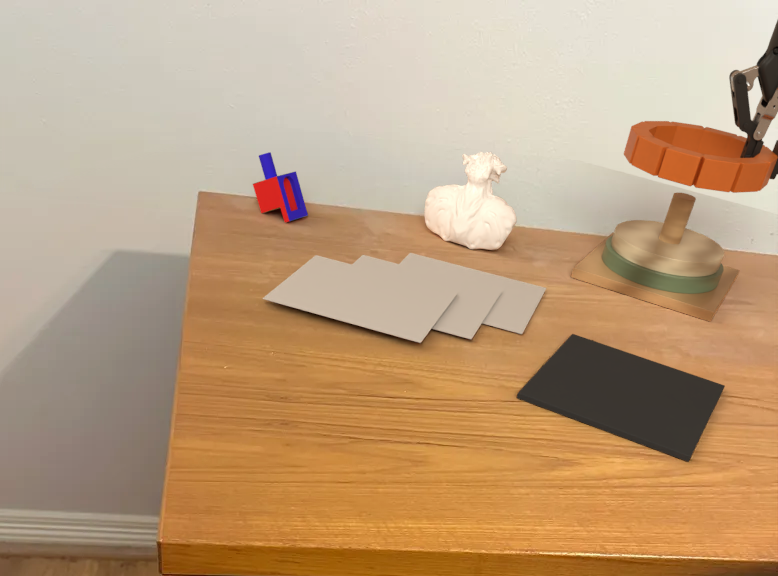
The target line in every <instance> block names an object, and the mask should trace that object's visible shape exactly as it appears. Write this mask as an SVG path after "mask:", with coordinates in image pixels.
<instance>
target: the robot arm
mask: <svg viewBox="0 0 778 576" xmlns="http://www.w3.org/2000/svg"><path fill="white" fill-rule="evenodd" d="M728 79H729V85H730V86H729V87H730V94H731V95H730V96H731V103H732V112H733V118H734V124H735V126H736V127H737V128H738V129H739V130H740V132H744V133H745V134H746V135H747V136H746V138H747V140H746V142H745V145H744V148H743V150H742V153H741V156H740V158H754V157H755V156H756V155H758V154H759V153H760V151H761V149H762V146H763V145H764V144H765V141H763V139H764V138H765V135H767V134H766V133H767V132H768V130H769V128H770V125H771V123H772V121H773V120H775V118H776V116H777V114H778V19H776V22H775V25H774V28H773V30H772V34H771V36H770V39H769V42H768V44H767V48H766V50H765V52H764V53H763V54H762V55H761V56H760V58H758V60H757V62H756V64H755V65H753V66H751V67H748V68H745V69H741V70H739V69H733V70H732V71H731V72H730V73H729V78H728ZM756 79H757V81H758V84H759V88H760V91H761V97H760V99H759V102H758V104H757V106H756V109H755V114H754V116H753V118H751V109H750V108H751V107H750V99H749V98H750V97H749V92H750V91H752V89H753V88H754V82H755V80H756ZM771 151H772V152H774V153H775V154H776V155H777V157H778V139H777V140H776V141H775V144H774V146H773V149H772V150H771ZM777 175H778V159H777V161H776V164H775V166H774V169H773V171H772V174H771V176H770V179H769V180H775V179H776V178H777Z"/></svg>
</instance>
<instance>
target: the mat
mask: <svg viewBox="0 0 778 576" xmlns="http://www.w3.org/2000/svg"><path fill="white" fill-rule="evenodd" d="M725 387H726V386H725V384H721V383H719V382H716V381H713V380H710V379H707V378H704V377H701V376H698V375H695V374H693V373H689V372H686V371H684V370H681V369H677V368H674V367H671V366H668V365H666V364H663V363H660V362H656V361H654V360H651V359H648V358H645V357H643V356H639V355H636V354H633V353H631V352H628V351H624V350H622V349H618V348H616V347H613V346H610V345H608V344H605V343H601V342H598V341H595V340H592V339H590V338H586V337H583V336H580V335H578V334H575V333H572V334H570V336H568V337H567V339H566V340H565V341H564V342H563V343H562V344H561V346H560V347H559V348H557V350H556V351H555V352H554V353H553V354H552V355H551V356H550V357H549V358H548V359H547V361H546V362H545V363H544V364H542V366H541V367H540V368H539V369H538V370H537V371H536V372H535V374H533V375H532V377H531V378H530V379H529V380H528V381H527V382H526V384H524V385H523V387H522V388H521V389H520V390H519V391H518V392H517V393H516V399H518V400H521V401H524V402H526V403H529V404H532V405H535V406H537V407H540V408H543V409H545V410H548V411H550V412H553V413H556V414H558V415H561V416H564V417H566V418H569V419H572V420H575V421H578V422H579V423H582V424H586V425H588V426H590V427H593V428H595V429H599V430H600V431H604V432H607V433H609V434H612V435H614V436H617V437H620V438H622V439H625V440H628V441H631V442H634V443H636V444H638V445H641V446H645V447H647V448H650V449H651V450H652V449H653V450H654V451H657V452H660V453H662V454H666V455H668V456H671V457H674V458H676V459H679V460H682V461H685V462H688V463H689V462H690V460H691V458H692V456H693V455H694V452H695V449H696V447H697V445H698V444H699V442H700V440H701V437H702V435H703V433H704V431H705V429H706V427H707V425H708V422H709V421H710V419H711V417H712V414H713V413H714V411H715V408H716V406H717V404H718V402H719V400H720V398H721V396H722V394H723V392H724V390H725Z"/></svg>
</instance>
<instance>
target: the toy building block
mask: <svg viewBox="0 0 778 576" xmlns="http://www.w3.org/2000/svg"><path fill="white" fill-rule="evenodd" d="M258 159H259V163H260V164H261V170H262V172H263V176H264V180H260V181H258V182H254V183H252V187H253V189H254V193H255V196H256V200H257V205H258V207H259V210H260V213H261V214H264V213H267V212H271V211H274V210H277V209H280V212H281V215H282V218H283V221H284V223H288V222H289V223H290V222H291V221H295V220H298V219H302V218H304V217H308V216H309V214H308V210H307V207H306V202H305V199H304V196H303V192H302V189H301V185H300V180H299V178H298V173H297V171H296V170H295V171H292V172H289V173H284V174H280V175H278V174H277V173H278V172H277V170H276V166H275V163H274V160H273V156H272V153H271V152H265V153H262V154H258Z"/></svg>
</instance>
